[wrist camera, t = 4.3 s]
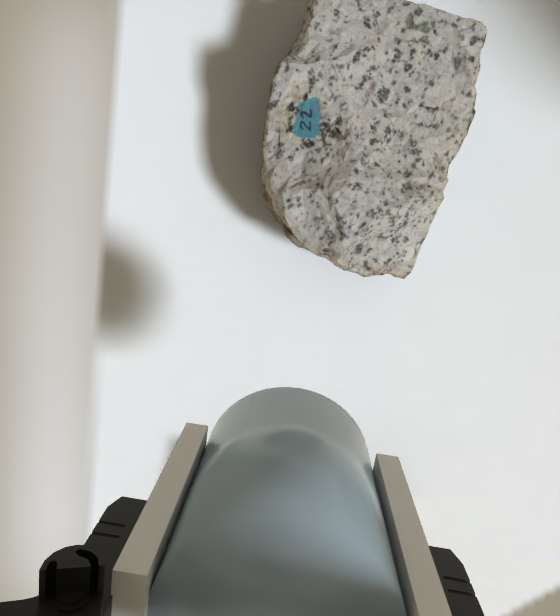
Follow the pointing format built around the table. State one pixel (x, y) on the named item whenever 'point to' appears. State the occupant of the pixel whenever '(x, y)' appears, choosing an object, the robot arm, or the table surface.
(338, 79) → the rock
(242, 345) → the table surface
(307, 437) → the grey rounded cylinder
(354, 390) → the table surface
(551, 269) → the table surface
